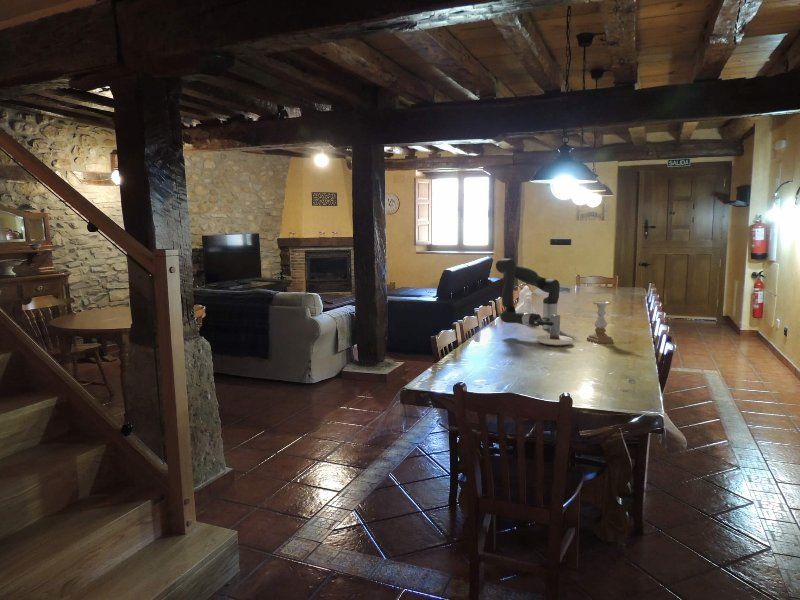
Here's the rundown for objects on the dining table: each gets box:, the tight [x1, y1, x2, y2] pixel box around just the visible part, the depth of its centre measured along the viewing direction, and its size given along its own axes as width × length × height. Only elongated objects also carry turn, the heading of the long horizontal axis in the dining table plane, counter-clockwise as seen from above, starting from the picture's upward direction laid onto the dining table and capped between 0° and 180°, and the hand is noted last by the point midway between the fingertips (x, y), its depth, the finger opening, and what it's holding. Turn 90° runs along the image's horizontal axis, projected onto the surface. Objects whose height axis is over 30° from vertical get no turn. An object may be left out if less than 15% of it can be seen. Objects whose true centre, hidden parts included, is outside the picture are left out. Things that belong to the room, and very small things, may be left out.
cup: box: [549, 313, 561, 340], centre depth 328 cm, size 6×6×14 cm
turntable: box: [537, 334, 573, 346], centre depth 329 cm, size 20×20×2 cm
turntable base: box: [543, 343, 568, 347], centre depth 330 cm, size 14×14×2 cm
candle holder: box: [586, 300, 614, 345], centre depth 333 cm, size 11×11×24 cm
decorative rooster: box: [515, 285, 537, 314], centre depth 399 cm, size 25×16×25 cm, turn 164°
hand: (555, 322), depth 328 cm, fingers open, 8 cm apart
